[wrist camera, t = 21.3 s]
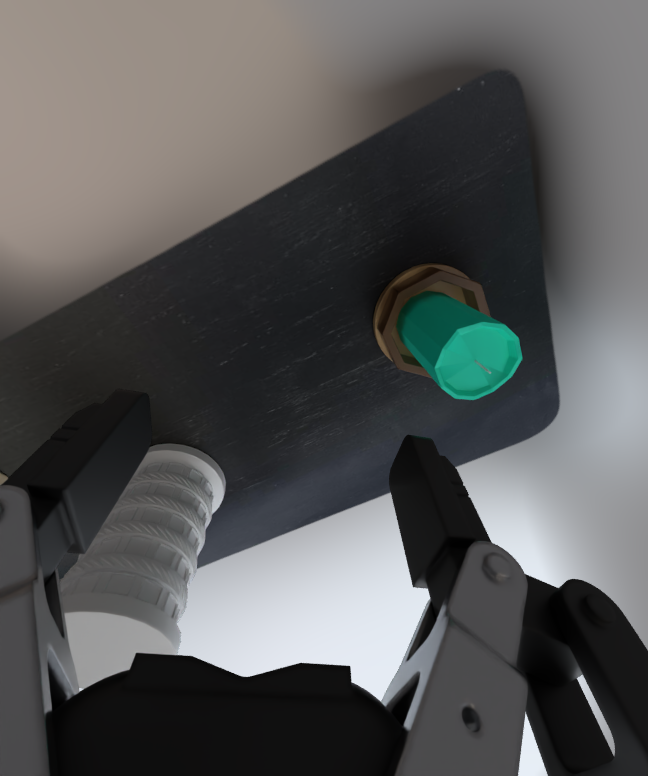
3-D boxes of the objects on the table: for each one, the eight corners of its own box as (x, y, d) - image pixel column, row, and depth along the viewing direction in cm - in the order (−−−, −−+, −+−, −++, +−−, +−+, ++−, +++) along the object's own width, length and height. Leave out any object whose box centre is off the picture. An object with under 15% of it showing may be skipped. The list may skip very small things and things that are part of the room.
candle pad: (396, 248, 30) (408, 251, 27) (494, 281, 32) (516, 288, 29) (358, 352, 34) (364, 365, 31) (446, 375, 36) (460, 390, 33)
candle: (458, 285, 31) (543, 321, 20) (454, 346, 34) (528, 405, 23) (395, 295, 31) (447, 335, 20) (396, 354, 34) (443, 417, 23)
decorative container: (234, 455, 39) (192, 619, 23) (216, 522, 44) (170, 696, 28) (130, 433, 37) (2, 598, 21) (122, 506, 42) (13, 687, 26)
